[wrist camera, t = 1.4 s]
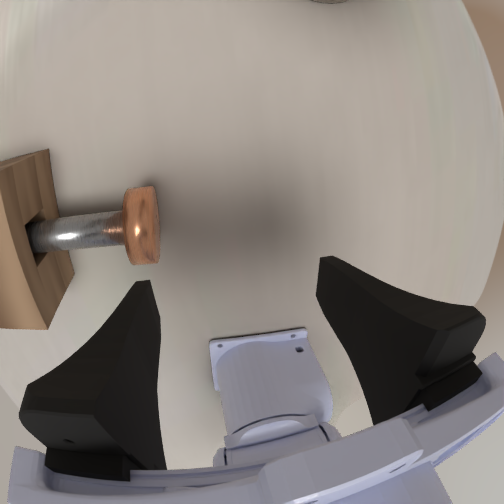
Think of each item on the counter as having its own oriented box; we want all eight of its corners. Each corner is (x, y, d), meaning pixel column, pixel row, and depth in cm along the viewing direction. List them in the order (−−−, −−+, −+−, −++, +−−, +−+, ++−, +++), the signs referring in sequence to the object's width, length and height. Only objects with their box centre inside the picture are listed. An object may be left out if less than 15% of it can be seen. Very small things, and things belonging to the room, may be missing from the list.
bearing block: (48, 148, 15) (-3, 172, 10) (74, 273, 20) (47, 329, 14) (-18, 167, 14) (-69, 196, 8) (12, 278, 19) (-20, 326, 13)
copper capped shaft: (155, 178, 17) (145, 200, 13) (161, 241, 19) (156, 278, 15) (9, 200, 15) (-24, 225, 11) (24, 254, 17) (-2, 287, 13)
